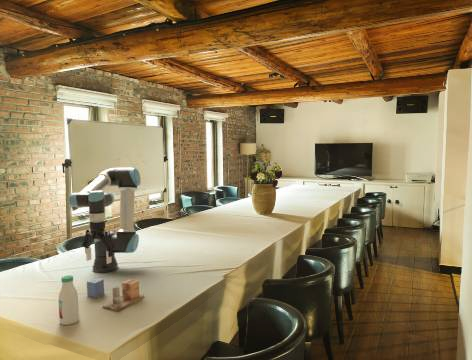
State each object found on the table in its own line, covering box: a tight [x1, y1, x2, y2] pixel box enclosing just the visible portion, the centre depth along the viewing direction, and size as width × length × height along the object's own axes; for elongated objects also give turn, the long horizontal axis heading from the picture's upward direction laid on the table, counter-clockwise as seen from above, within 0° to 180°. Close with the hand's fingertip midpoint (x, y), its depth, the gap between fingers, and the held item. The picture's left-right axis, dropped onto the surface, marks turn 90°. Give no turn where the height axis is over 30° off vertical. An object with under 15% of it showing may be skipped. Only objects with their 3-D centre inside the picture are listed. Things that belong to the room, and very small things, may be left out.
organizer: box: [102, 278, 145, 313], centre depth 174 cm, size 10×18×9 cm, turn 155°
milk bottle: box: [58, 274, 80, 326], centre depth 155 cm, size 8×8×20 cm
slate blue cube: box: [86, 277, 105, 299], centre depth 184 cm, size 6×6×8 cm
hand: (98, 261), depth 184 cm, fingers open, 13 cm apart
